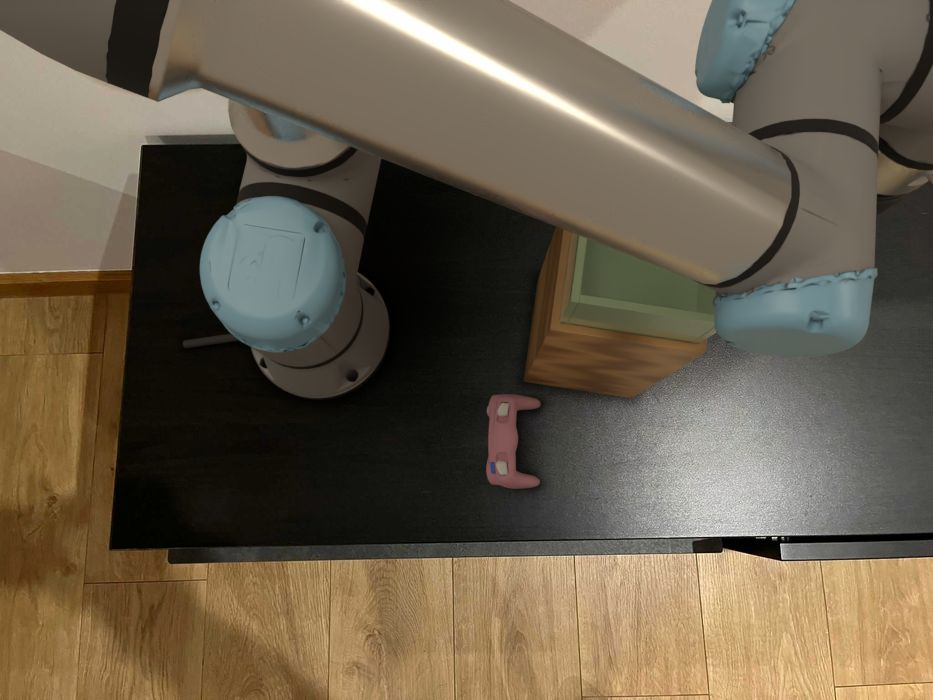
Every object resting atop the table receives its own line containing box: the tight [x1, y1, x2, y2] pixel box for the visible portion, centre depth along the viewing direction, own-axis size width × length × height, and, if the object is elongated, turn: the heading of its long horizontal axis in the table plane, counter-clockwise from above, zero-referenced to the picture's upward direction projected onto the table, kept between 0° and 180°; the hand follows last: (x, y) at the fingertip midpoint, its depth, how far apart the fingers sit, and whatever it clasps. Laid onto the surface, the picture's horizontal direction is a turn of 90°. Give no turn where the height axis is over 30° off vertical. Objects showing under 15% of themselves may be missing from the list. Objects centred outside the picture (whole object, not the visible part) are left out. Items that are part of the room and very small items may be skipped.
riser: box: [523, 226, 708, 399], centre depth 66 cm, size 12×12×24 cm
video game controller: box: [485, 393, 542, 490], centre depth 73 cm, size 10×5×7 cm, turn 178°
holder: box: [559, 233, 717, 344], centre depth 51 cm, size 11×11×6 cm
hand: (746, 258), depth 72 cm, fingers closed on can, 7 cm apart
